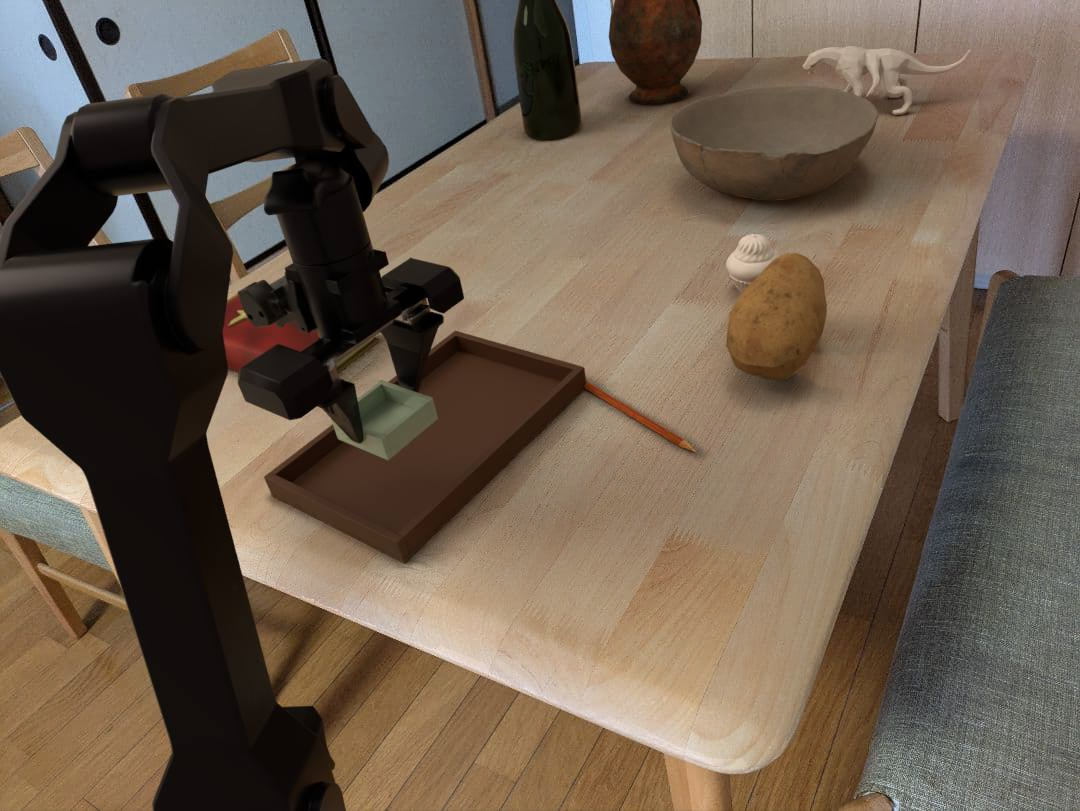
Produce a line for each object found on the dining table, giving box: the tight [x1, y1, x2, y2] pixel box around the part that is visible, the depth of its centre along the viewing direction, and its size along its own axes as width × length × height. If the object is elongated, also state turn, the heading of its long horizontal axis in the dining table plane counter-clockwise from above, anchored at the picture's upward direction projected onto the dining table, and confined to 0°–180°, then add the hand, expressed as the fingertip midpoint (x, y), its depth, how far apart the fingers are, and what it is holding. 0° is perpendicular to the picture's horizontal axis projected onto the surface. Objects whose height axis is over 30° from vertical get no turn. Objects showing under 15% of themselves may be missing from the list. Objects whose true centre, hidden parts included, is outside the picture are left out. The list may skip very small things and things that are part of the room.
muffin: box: [725, 233, 781, 294], centre depth 95 cm, size 6×6×7 cm
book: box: [223, 293, 380, 374], centre depth 100 cm, size 12×21×4 cm, turn 57°
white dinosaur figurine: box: [802, 45, 972, 116], centre depth 135 cm, size 12×25×10 cm, turn 76°
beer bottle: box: [512, 0, 582, 141], centre depth 141 cm, size 10×10×33 cm
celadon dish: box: [330, 379, 438, 460], centre depth 69 cm, size 6×6×2 cm
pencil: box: [584, 380, 697, 453], centre depth 82 cm, size 1×18×1 cm, turn 37°
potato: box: [725, 252, 828, 380], centre depth 83 cm, size 9×16×9 cm, turn 149°
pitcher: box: [608, 0, 703, 106], centre depth 149 cm, size 17×21×30 cm
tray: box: [263, 330, 587, 564], centre depth 82 cm, size 28×18×2 cm, turn 144°
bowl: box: [669, 85, 879, 201], centre depth 118 cm, size 28×28×10 cm
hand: (385, 419), depth 69 cm, fingers closed on celadon dish, 6 cm apart
